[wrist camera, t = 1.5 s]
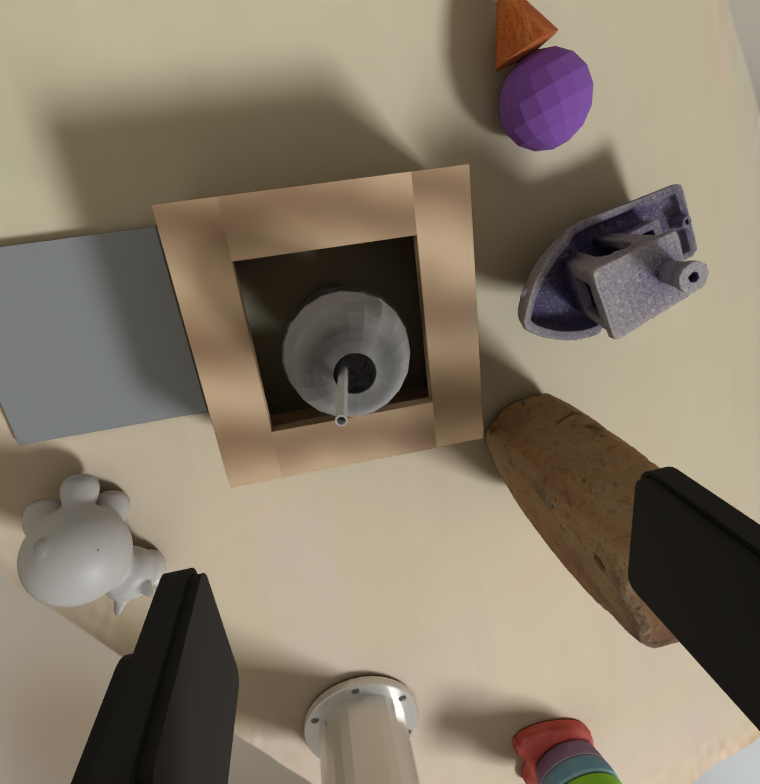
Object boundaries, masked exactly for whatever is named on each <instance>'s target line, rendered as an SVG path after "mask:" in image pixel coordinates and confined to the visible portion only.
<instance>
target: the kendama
mask: <svg viewBox="0 0 760 784" xmlns="http://www.w3.org/2000/svg"><path fill="white" fill-rule="evenodd" d="M557 31H558V29H557V28H556V27H555V26H554V25H553V24H552V23H551V22H549V21H548V20H547V19H546V18H545V17H544V16H543V15H542V14H541V13H540V12H539V11H537V10H536V9H535V8H534V7H533V6H532V5H531V4H530V3H529V2H528V1H527V0H497V10H496V71H499V70H502V69H504V68H506V67H508V66H510V65H513V64H515V63H517V62H518V63H517V64H516V65H515V67H514V68H513V69H512V71H511V72H510V73H509V74H508V76H507V77H506V80H505V83H504V86H503V89H502V92H501V95H500V119H501V122H502V124H503V127H504V129H505V132H506V134H507V135H508V136H509V137H510V138H511V139H512V140H513V141H514V142H515V143H516V144H517V145H518V146H520V147H523V148H526V149H529V150H532V151H542V150H550V149H554V148H556V147H558V146H560V145H562V144H563V143H565V142H567V141H568V140H570V138H571V137H572V136H573V135H574V134H575V133H576V132H577V131H578V130H579V128H580V127H581V126H582V125H583V124H584V121H585V119H586V117H587V114H588V112H589V110H590V108H591V105H592V94H593V81H592V78H591V75H590V72H589V69H588V66H587V64H586V63H585V62H584V61H583V60H582V59H581V58H580V57H579V56H578V55H577V54H576V53H575V52H574V51H571V50H568V49H564V48H561V47H557V46H553V47H548V48H543V49H538V48H539V47H541V46H542V45H543V44H544V43H545V42H546V41H547V40H549V39H550V38H551V37H552V36H553V35H554V34H555V33H556V32H557ZM537 49H538V50H537Z"/></svg>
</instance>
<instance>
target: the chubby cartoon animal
mask: <svg viewBox="0 0 760 784" xmlns="http://www.w3.org/2000/svg"><path fill="white" fill-rule="evenodd" d="M99 490H100V485H99V482H98V480H97V478H96V477H94V476H92V475H88V474H75V475H71V476H69V477H67V478H66V479H65V480H64V481H63V482H62V484H61V487H60V501H61V504H60V503H59V502H57V501H55V500H52V499H42V500H37V501H34V502H32V503H30V504H29V505H28V506H27V507H26V508H25V510H24V513H23V516H22V527H23V530H24V533H25V535H26V537H25V539H24V540H23V542H22V544H21V547H20V550H19V553H18V559H17V570H18V575H19V579H20V581H21V583H22V585H23V587H24V588H25V590H26V591H27V592H28V593H29V594H30V595H31V596H32V597H34V598H35V599H37V600H38V601H40V602H42V603H45V604H47V605H51V606H56V607H75V606H80V605H84V604H87V603H90V602H92V601H94V600H96V599H98V598H100V597H102V596H103V595H105V594H106V595H108V596H109V597H110V598H112V599H113V600H114V610H115V614H116V615H117V616H118V615H120V614H121V613H122V611H123V609H124V607H125V605H126V604H127V603H128V602H129V601H131V600H134V599H137V598H139V597H141V596H142V595H145V596H148V597H152V596H153V586H154V588H155V590H156V589H157V586H158V583H159V581H160V578H161V576H162V575H163V572H164V571H165V570H166V562H165V558H164V556H163V555H162V553H160V552H159V551H157V550H154V549H145V548H143V547H140V546H133V541H132V536H131V533H130V530H129V528H128V526H127V525H126V523H125V522H124V520H125V518H126V516H127V514H128V511H129V507H130V500H129V497H128V496H127V494H125V493H124V492H122V491H116V490H111V491H105V492H102V493H100V494H99Z"/></svg>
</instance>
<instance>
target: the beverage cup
mask: <svg viewBox="0 0 760 784" xmlns="http://www.w3.org/2000/svg"><path fill="white" fill-rule="evenodd" d="M409 346H410V345H409V340H408V336H407V331H406V326H405V325H404V323H403V321H402V320H401V318H400V316H399V314H398V313H397V311H396V309H394V308H393V307H392V306H391V305H390V304H389V303H387V302H386V301H385V300H384V299H383V298H382V297H381V296H378V295H376V294H373V293H371V292H368V291H366V290H364V289H360V288H345V287H342V286H340V285H325V286H321V287H319V288H317V289H316V290H314V291H313V292H311V293H310V295H309V296H308V297H307V298H306V299H305V301H304V303H303V304H302V305H301V306H300V307H299V308H298V310H297V311H296V312H295V313H294V314H293V316H292V317H291V318H290V319H289V321H288V324H287V327H286V329H285V332H284V335H283V338H282V352H281V360H282V363H283V366H284V370H285V373H286V376H287V379H288V380H289V381H290V383H291V384H292V385H293V387H294V388H295V390H296V391H297V392H298V394H299V395H300V396H301V397H302V399H303V400H304V401H306V402H307V403H309V404H310V405H311V406H313V407H314V408H316V409H317V410H318V411H321V412H324V413H327V414H330V415H333V416H335V423H336V424H337V425H338V426H344V425H345V424H347V417H358V416H362V415H365V414H369V413H373V412H374V411H376V410H377V409H379V408H381V407H382V406H384V405H385V404H387V403H388V402H389V401H390V400H391V399H392V398H393V397H394V395H395V394H396V393H397V392H398V391H399V390H400V388H401V386H402V384H403V382H404V379H405V377H406V375H407V373H408V367H409V358H410V348H409Z"/></svg>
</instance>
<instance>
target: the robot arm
mask: <svg viewBox="0 0 760 784" xmlns="http://www.w3.org/2000/svg"><path fill="white" fill-rule="evenodd" d="M628 580H629V583H630V585H631V587H632V589H633V590H634V591H635V593H636V594H637V595H638V596H639V597H640V598H641V599H642V601H643V602H644V603H645V604H646V605H647V606H648V607H649V608H650V609H651V611H652V612H653V613H654V614H655V615H656V616H657V617H658V618H659V619H660V621H661V622H662V623H663V624H664V625H665V626H666V627H667V628H668V629H669V631H670V632H671V633H672V634H673V635H674V636H675V637H676V638H677V639H678V641H679V642H680V643H681V644H682V645H683V646H684V647H685V648H686V649H687V651H688V652H689V653H690V654H691V655H692V656H693V657H694V658H695V660H696V661H697V662H698V663H699V664H700V665H701V666H702V667H703V668H704V670H705V671H706V672H707V673H708V674H709V675H710V676H711V677H712V678H713V680H714V681H715V682H716V683H717V684H718V685H719V686H720V687H721V688H722V690H723V691H724V692H725V693H726V694H727V695H728V696H729V697H730V698H731V700H732V701H733V702H734V703H735V704H736V705H737V706H738V707H739V708H740V710H741V711H742V712H743V713H744V714H745V715H746V716H747V717H748V718H749V720H750V721H751V722H752V723H753V724H754V725H755V726H756V727H757V728H758V730H759V731H760V524H758V523H757V522H755V521H754V520H752V519H751V518H749V517H748V516H746V515H745V514H743V513H742V512H740V511H739V510H737V509H736V508H734V507H733V506H731V505H730V504H728V503H727V502H725V501H724V500H722V499H721V498H719V497H718V496H716V495H715V494H713V493H712V492H710V491H709V490H707V489H706V488H704V487H703V486H701V485H700V484H698V483H697V482H695V481H694V480H692V479H691V478H689V477H688V476H686V475H685V474H683V473H682V472H681V471H679V470H678V469H676V468H674V467H664V468H660V469H655V470H650V471H646V472H644V473H643V474H642V475H641V478H640V480H638V481H637V482H636V485H635V494H634V506H633V517H632V529H631V540H630V552H629V564H628ZM238 687H239V678H238V670H237V666H236V663H235V660H234V657H233V654H232V651H231V648H230V645H229V641H228V638H227V635H226V632H225V629H224V626H223V623H222V620H221V617H220V614H219V611H218V608H217V605H216V602H215V599H214V596H213V593H212V590H211V587H210V584H209V581H208V578H207V575H206V574H205V573H201V574H197V572H196V570H195V569H194V568H189V569H184V570H179V571H175V572H170V573H165V574H163V575H162V576H161V578H160V581H159V583H158V586H157V589H156V592H155V594H154V597H153V600H152V603H151V606H150V608H149V611H148V614H147V617H146V619H145V622H144V625H143V628H142V631H141V633H140V636H139V639H138V642H137V644H136V647H135V650H134V653H133V654H129V655H124V656H123V657H122V658H121V659H120V661H119V662H118V664H117V666H116V668H115V671H114V673H113V676H112V679H111V681H110V684H109V686H108V689H107V691H106V694H105V697H104V699H103V702H102V704H101V707H100V710H99V712H98V715H97V717H96V720H95V722H94V725H93V728H92V730H91V733H90V736H89V738H88V741H87V743H86V746H85V748H84V751H83V753H82V756H81V759H80V761H79V764H78V766H77V769H76V772H75V774H74V777H73V780H72V782H71V784H228V776H229V767H230V759H231V750H232V741H233V732H234V723H235V714H236V705H237V697H238ZM417 722H418V708H417V704H416V700H415V698H414V696H413V694H412V692H411V691H410V690H409V689H408V688H407V687H406V686H405V685H403V684H402V683H400V682H398V681H396V680H393V679H390V678H386V677H380V676H364V677H358V678H353V679H349V680H346V681H344V682H341V683H339V684H337V685H335V686H333V687H331V688H329V689H328V690H327V691H325V692H324V693H323V694H321V695H320V696H319V697H318V698H317V699H316V700H315V701H314V702H313V704H312V705H311V707H310V708H309V710H308V712H307V715H306V717H305V723H304V737H305V741H306V744H307V746H308V747H309V749H310V751H311V752H312V753H313V754H314V755H316V756H317V757H318V758H320V762H321V782H322V784H420V781H419V776H418V772H417V767H416V763H415V758H414V754H413V749H412V745H411V740H410V737H411V735H412V734H413V732H414V730H415V728H416V726H417Z"/></svg>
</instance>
